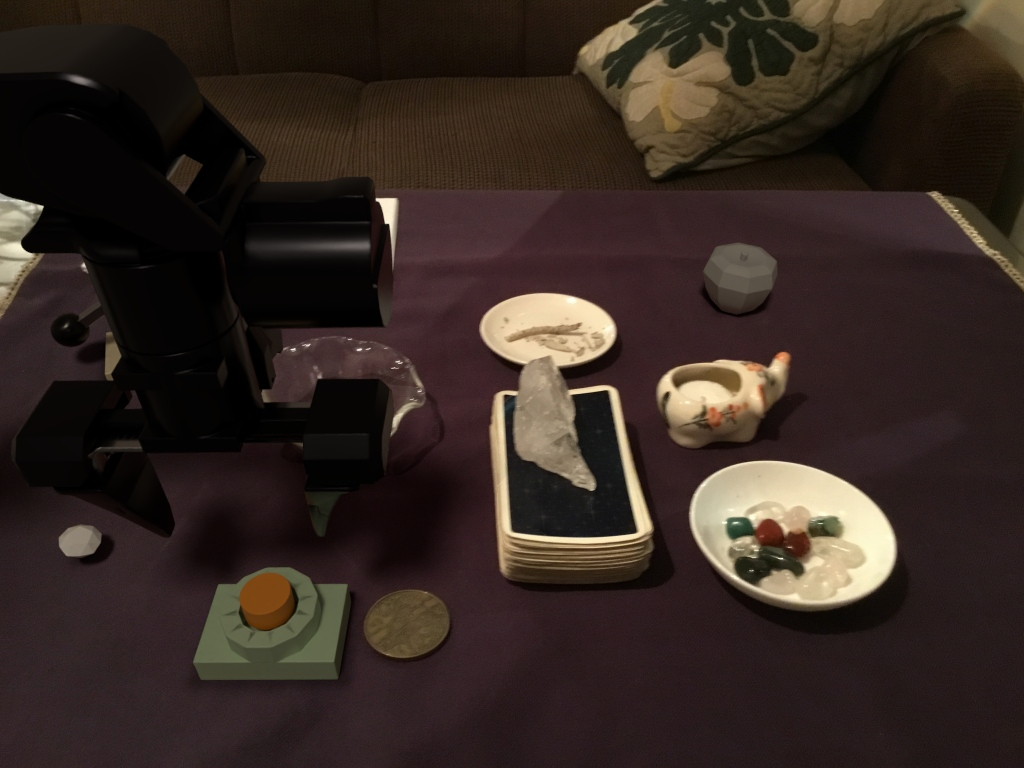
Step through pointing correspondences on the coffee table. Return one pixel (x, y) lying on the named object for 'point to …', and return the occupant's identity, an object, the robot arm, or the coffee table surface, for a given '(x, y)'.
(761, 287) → the apple
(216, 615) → the button block
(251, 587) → the button
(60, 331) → the press lever
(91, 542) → the gemstone
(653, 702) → the coffee table surface
